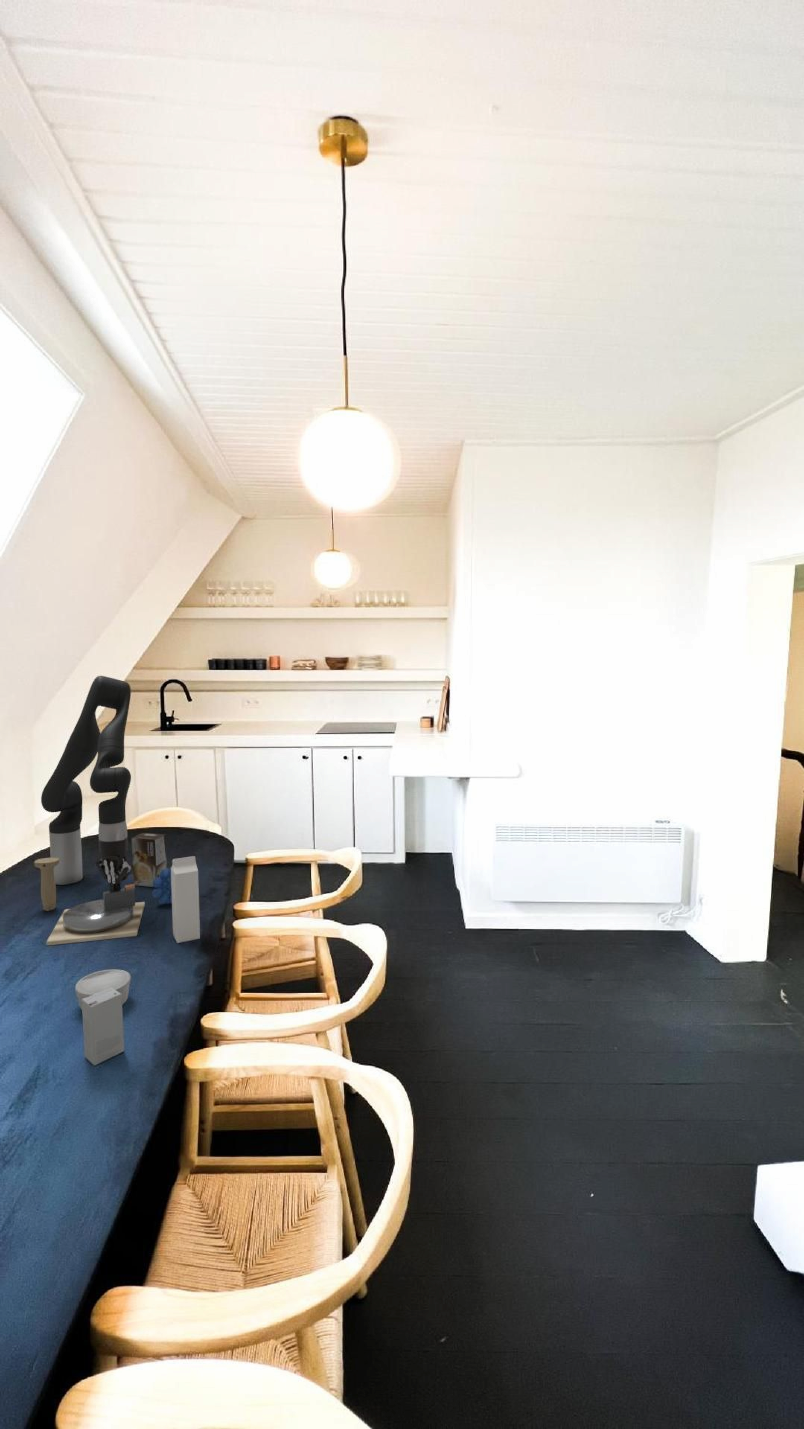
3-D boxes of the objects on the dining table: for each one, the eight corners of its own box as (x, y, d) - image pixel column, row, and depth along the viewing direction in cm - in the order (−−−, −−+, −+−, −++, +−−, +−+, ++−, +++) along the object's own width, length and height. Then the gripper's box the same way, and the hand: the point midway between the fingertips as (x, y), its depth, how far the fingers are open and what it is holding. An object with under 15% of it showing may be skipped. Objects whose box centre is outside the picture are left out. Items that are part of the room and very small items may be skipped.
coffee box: (168, 881, 219) (167, 834, 217) (157, 887, 213) (155, 839, 211) (144, 878, 221) (142, 832, 220) (132, 885, 215) (130, 837, 213)
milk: (200, 938, 176) (198, 859, 174) (176, 943, 173) (174, 862, 171) (195, 930, 182) (193, 852, 179) (172, 934, 179) (170, 856, 176)
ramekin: (116, 985, 152) (115, 963, 152) (141, 1001, 145) (140, 979, 145) (66, 1005, 144) (65, 982, 143) (91, 1024, 137) (89, 1000, 136)
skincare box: (114, 1043, 130) (112, 985, 129) (125, 1052, 127) (123, 993, 126) (83, 1058, 125) (80, 997, 124) (93, 1067, 122) (91, 1006, 121)
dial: (130, 901, 198) (129, 875, 197) (141, 923, 183) (139, 895, 182) (60, 914, 188) (59, 887, 187) (66, 938, 173) (64, 908, 172)
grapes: (191, 895, 206) (190, 858, 205) (193, 903, 200) (192, 865, 199) (152, 900, 202) (150, 863, 201) (152, 909, 196) (151, 870, 194)
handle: (58, 911, 194) (55, 862, 192) (34, 913, 192) (32, 863, 191) (63, 905, 198) (61, 857, 197) (40, 906, 197) (37, 858, 195)
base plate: (65, 912, 193) (64, 908, 193) (144, 904, 199) (144, 901, 199) (46, 945, 172) (46, 941, 172) (136, 935, 178) (136, 931, 178)
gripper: (85, 836, 187) (88, 894, 189) (119, 843, 181) (121, 903, 184) (107, 829, 194) (109, 886, 196) (140, 836, 188) (142, 894, 190)
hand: (115, 894), depth 190 cm, fingers closed
